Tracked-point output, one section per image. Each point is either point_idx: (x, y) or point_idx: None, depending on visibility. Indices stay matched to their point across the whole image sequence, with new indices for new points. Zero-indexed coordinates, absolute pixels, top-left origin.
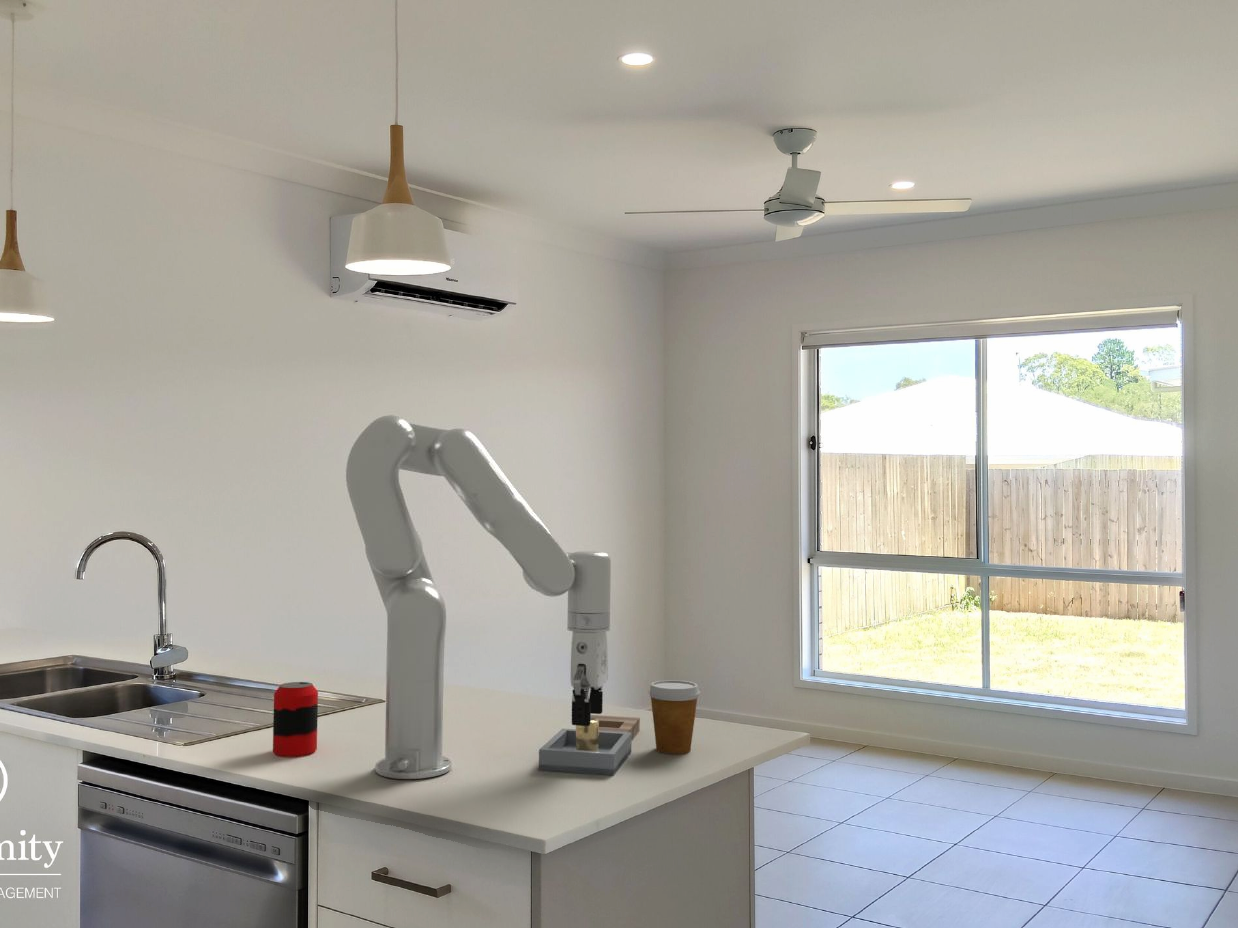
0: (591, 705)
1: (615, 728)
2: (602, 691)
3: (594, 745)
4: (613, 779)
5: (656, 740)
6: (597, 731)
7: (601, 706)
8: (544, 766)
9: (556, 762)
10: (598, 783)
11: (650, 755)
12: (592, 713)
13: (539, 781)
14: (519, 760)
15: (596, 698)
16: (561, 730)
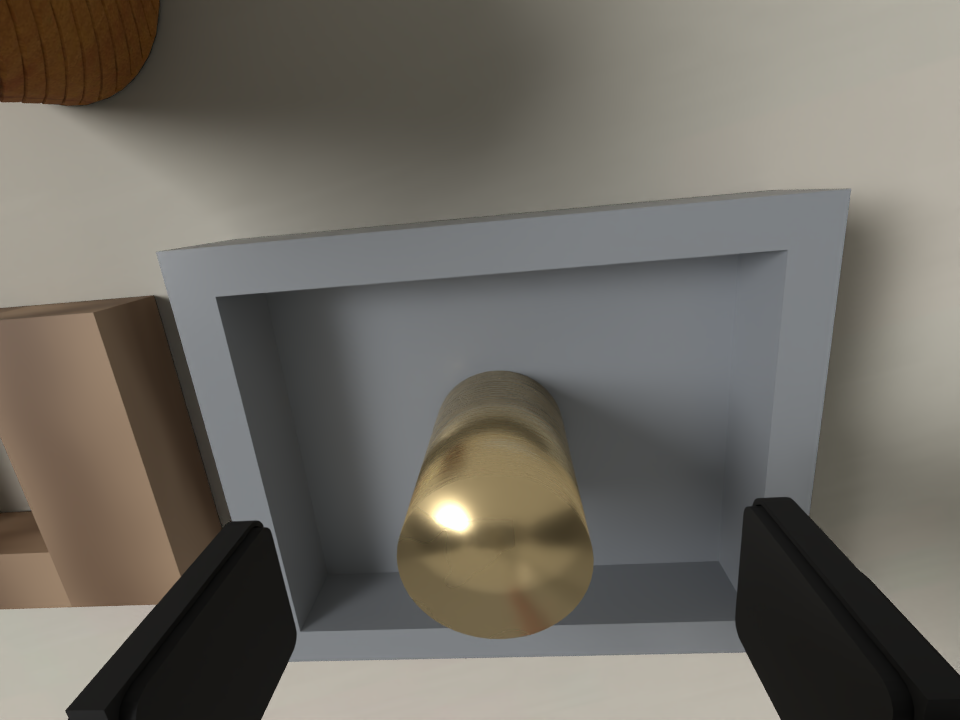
0: (256, 649)
1: (7, 414)
2: (81, 708)
3: (537, 407)
4: (859, 166)
5: (80, 76)
6: (509, 436)
7: (222, 562)
8: None
9: None
10: (956, 228)
11: (252, 98)
12: (280, 582)
13: (938, 514)
14: (593, 674)
15: (198, 677)
16: (318, 654)
